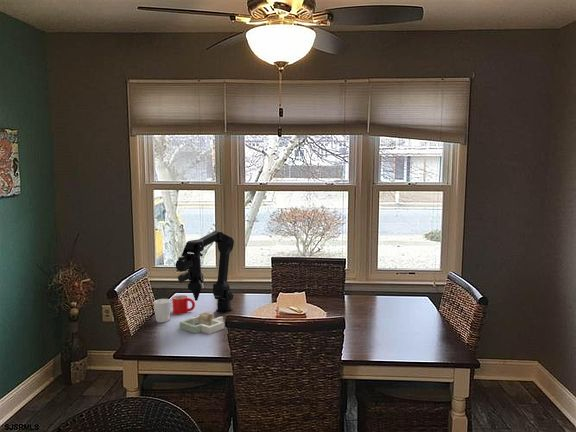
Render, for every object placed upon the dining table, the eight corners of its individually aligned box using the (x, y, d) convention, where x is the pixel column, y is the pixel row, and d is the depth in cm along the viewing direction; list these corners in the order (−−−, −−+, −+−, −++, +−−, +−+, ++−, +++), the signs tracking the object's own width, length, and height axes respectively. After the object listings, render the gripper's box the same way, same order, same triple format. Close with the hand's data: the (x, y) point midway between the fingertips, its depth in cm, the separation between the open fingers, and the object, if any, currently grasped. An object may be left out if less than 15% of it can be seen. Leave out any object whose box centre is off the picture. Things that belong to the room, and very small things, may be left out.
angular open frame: (207, 318, 250) (207, 312, 250) (231, 325, 239) (231, 319, 238) (179, 328, 237) (179, 322, 236) (203, 336, 225) (203, 329, 225)
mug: (193, 314, 257) (192, 299, 256) (171, 314, 258) (170, 299, 257) (197, 309, 265) (196, 295, 264) (175, 309, 266) (174, 295, 265)
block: (207, 321, 246) (207, 311, 245) (214, 323, 242) (213, 313, 242) (199, 324, 242) (199, 314, 241) (206, 326, 239) (206, 316, 238)
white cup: (166, 323, 244) (165, 303, 243) (152, 322, 246) (151, 303, 244) (173, 318, 252) (172, 299, 250) (159, 317, 253) (158, 298, 252)
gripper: (180, 263, 248) (182, 292, 250) (175, 272, 230) (178, 304, 232) (202, 261, 249) (204, 291, 252) (200, 271, 231) (202, 303, 233)
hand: (196, 297), depth 242 cm, fingers open, 9 cm apart
